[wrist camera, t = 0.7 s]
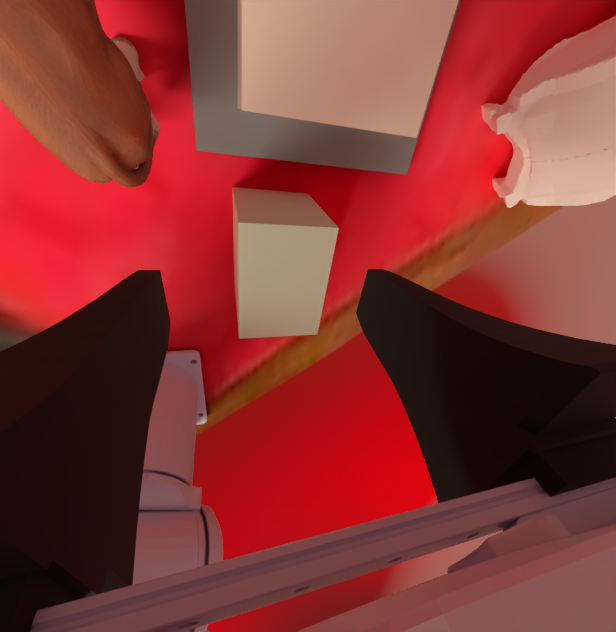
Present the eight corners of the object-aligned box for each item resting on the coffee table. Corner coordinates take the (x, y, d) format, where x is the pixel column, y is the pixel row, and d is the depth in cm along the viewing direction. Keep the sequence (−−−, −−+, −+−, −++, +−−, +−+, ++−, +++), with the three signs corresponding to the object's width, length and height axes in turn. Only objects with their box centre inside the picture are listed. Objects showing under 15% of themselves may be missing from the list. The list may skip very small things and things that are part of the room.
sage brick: (296, 282, 21) (317, 334, 17) (234, 283, 20) (238, 338, 16) (307, 193, 18) (338, 227, 13) (232, 186, 17) (238, 222, 12)
